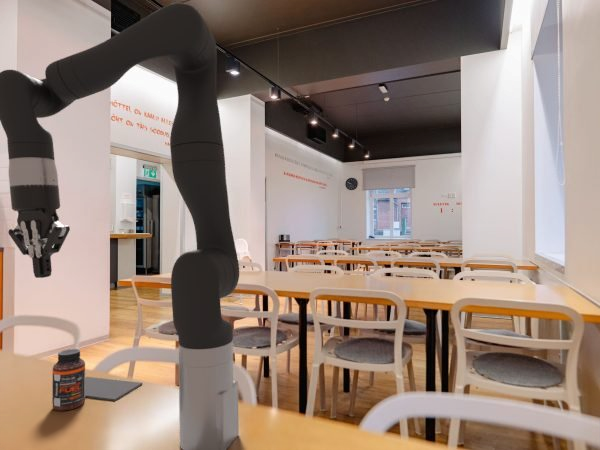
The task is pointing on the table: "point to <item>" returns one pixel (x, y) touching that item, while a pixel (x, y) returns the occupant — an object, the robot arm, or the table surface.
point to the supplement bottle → (68, 380)
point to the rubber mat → (108, 388)
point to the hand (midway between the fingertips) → (43, 277)
